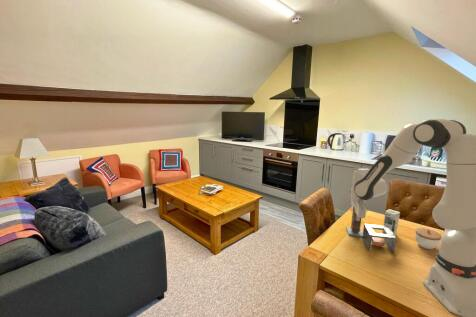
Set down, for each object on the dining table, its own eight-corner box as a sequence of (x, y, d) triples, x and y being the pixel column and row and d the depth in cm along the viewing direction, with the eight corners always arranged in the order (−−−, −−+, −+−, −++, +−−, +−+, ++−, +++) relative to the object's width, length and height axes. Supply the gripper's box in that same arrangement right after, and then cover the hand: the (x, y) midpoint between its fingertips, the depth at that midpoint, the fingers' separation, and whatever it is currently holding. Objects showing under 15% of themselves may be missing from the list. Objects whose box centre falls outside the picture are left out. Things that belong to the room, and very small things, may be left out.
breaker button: (384, 246, 125) (384, 243, 124) (373, 245, 126) (374, 241, 125) (381, 241, 129) (381, 238, 129) (371, 240, 130) (371, 236, 130)
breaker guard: (393, 253, 121) (396, 238, 119) (367, 250, 124) (369, 234, 122) (386, 240, 132) (388, 226, 130) (362, 238, 135) (364, 223, 133)
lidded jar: (429, 240, 132) (432, 225, 130) (443, 252, 121) (447, 236, 119) (409, 239, 133) (411, 224, 131) (421, 251, 123) (424, 235, 120)
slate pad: (363, 237, 136) (364, 235, 135) (348, 235, 138) (348, 233, 137) (360, 230, 143) (360, 228, 143) (346, 228, 145) (346, 227, 145)
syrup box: (381, 233, 139) (385, 211, 136) (386, 230, 142) (389, 208, 139) (392, 238, 135) (396, 214, 131) (396, 234, 138) (400, 211, 135)
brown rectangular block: (359, 231, 137) (362, 209, 134) (352, 231, 138) (354, 208, 135) (358, 228, 141) (360, 206, 138) (350, 227, 142) (353, 206, 139)
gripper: (370, 203, 124) (367, 227, 128) (361, 190, 144) (358, 211, 147) (357, 202, 126) (354, 226, 129) (349, 189, 145) (347, 210, 148)
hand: (356, 218), depth 138 cm, fingers closed on brown rectangular block, 4 cm apart
